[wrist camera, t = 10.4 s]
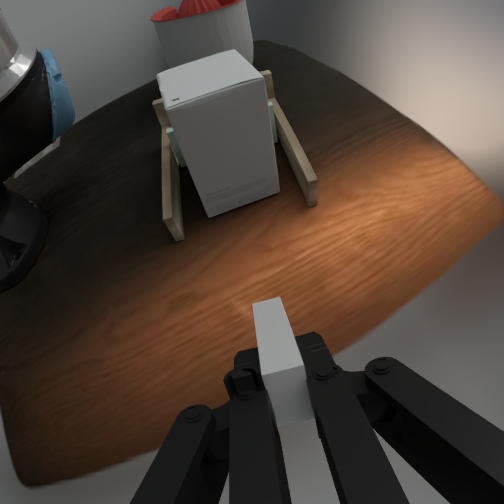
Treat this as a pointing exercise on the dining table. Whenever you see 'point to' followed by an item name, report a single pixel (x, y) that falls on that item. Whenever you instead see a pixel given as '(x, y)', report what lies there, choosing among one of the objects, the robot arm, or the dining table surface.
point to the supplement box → (222, 129)
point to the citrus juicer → (203, 30)
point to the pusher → (179, 153)
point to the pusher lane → (171, 166)
